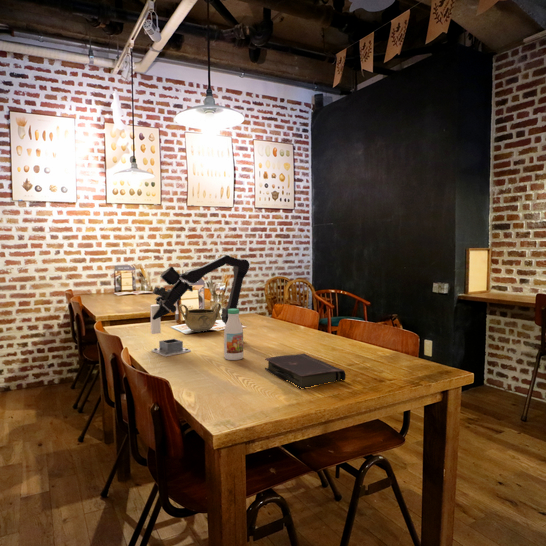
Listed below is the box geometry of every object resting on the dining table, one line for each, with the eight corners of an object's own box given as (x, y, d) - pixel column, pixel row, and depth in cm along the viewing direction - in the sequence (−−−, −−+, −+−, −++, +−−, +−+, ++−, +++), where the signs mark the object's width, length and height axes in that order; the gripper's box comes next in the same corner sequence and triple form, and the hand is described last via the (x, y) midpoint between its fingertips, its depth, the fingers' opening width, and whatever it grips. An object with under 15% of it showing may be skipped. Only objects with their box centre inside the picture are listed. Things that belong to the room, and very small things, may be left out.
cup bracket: (176, 346, 193) (176, 337, 193) (190, 351, 184) (190, 341, 184) (151, 351, 185) (151, 341, 185) (165, 356, 176) (165, 345, 176)
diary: (305, 365, 166) (305, 352, 166) (345, 383, 144) (346, 369, 144) (262, 371, 157) (262, 357, 157) (298, 391, 135) (298, 376, 135)
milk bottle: (220, 359, 172) (220, 309, 171) (231, 354, 179) (230, 307, 178) (236, 361, 169) (236, 311, 167) (246, 357, 175) (246, 308, 174)
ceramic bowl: (183, 336, 216) (183, 306, 215) (175, 330, 231) (175, 302, 230) (225, 332, 226) (225, 303, 225) (215, 326, 241) (215, 300, 240)
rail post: (159, 331, 193) (158, 304, 192) (160, 333, 190) (160, 305, 189) (150, 332, 191) (150, 304, 190) (152, 333, 188) (151, 305, 187)
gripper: (159, 278, 199) (135, 303, 195) (168, 281, 182) (142, 309, 178) (176, 294, 203) (153, 319, 199) (186, 299, 186) (161, 326, 182)
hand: (152, 318), depth 189 cm, fingers closed on rail post, 4 cm apart
